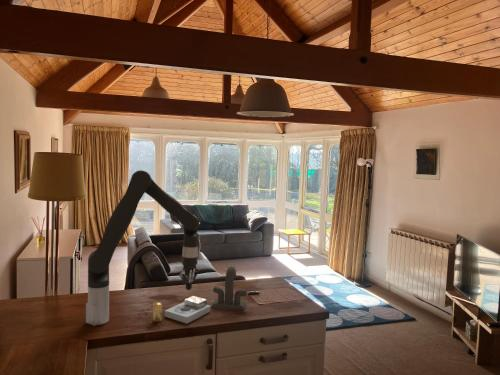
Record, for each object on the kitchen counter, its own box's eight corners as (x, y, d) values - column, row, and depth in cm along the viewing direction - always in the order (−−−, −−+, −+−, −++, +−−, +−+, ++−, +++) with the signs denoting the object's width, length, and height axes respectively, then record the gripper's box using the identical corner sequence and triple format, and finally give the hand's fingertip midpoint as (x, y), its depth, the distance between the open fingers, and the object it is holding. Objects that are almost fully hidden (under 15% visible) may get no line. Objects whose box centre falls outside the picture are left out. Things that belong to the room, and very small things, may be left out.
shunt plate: (198, 308, 196) (198, 303, 195) (184, 304, 200) (184, 299, 200) (206, 304, 201) (206, 299, 201) (193, 300, 206) (193, 295, 206)
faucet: (248, 299, 219) (249, 264, 217) (245, 310, 203) (246, 272, 202) (216, 297, 221) (217, 262, 219) (210, 307, 205) (211, 270, 203)
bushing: (157, 322, 185) (157, 305, 184) (151, 320, 187) (151, 304, 186) (163, 319, 188) (163, 303, 188) (157, 317, 190) (157, 301, 190)
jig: (186, 323, 185) (187, 317, 185) (164, 316, 192) (164, 310, 192) (210, 311, 200) (210, 305, 200) (188, 305, 207) (189, 299, 207)
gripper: (187, 259, 187) (185, 294, 188) (204, 254, 198) (202, 287, 199) (175, 256, 190) (173, 291, 192) (192, 251, 202) (191, 284, 203)
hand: (188, 289), depth 195 cm, fingers closed
